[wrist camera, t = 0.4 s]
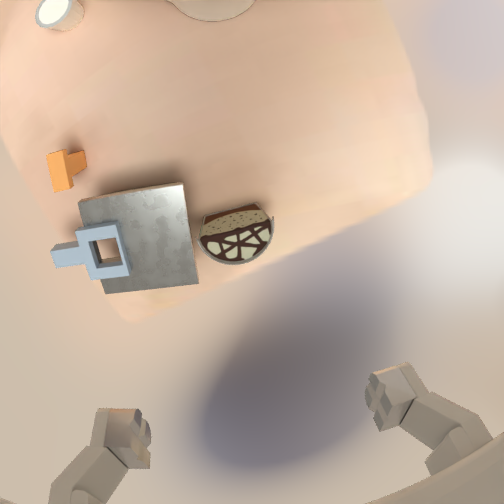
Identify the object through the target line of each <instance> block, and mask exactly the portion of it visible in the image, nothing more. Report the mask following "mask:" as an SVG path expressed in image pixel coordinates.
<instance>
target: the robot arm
mask: <svg viewBox="0 0 504 504" xmlns="http://www.w3.org/2000/svg"><path fill="white" fill-rule="evenodd" d="M166 1H169V2H171V3H173V4H174V5H175V6H176V7H177V8H178V9H179V10H180V11H181V12H182V13H184V14H186V15H187V16H189V17H192V18H194V19H198V20H202V21H222V20H227V19H230V18H233V17H236V16H238V15H240V14H241V13H243V12H244V11H246V10H247V9H248V8H249V7H250V6H251V5H252V4H253V3H254V1H255V0H166ZM369 381H370V383H369V384H368V386H366V389H365V400H366V403H367V406H368V408H369V409H370V410H372V411H373V412H375V414H374V417H373V419H374V421H375V423H376V425H377V427H378V429H379V431H380V432H381V431H384V430H387V429H390V428H393V427H396V426H399V425H400V427H401V428H402V429H404V430H405V431H407V432H408V433H410V434H411V435H413V436H414V437H415V438H416V439H418V440H419V441H421V442H422V443H424V444H425V445H427V446H428V447H429V448H431V449H432V450H434V451H433V452H432V453H431V454H430V455H429V457H427V459H426V461H425V464H426V466H427V468H428V470H429V472H430V474H431V476H430V477H428V478H426V479H424V480H422V481H420V482H418V483H415V484H413V485H411V486H409V487H407V488H404V489H402V490H400V491H398V492H395V493H392V494H390V495H387V496H385V497H382V498H380V499H377V500H374V501H371V502H369V503H366V504H504V432H503V433H501V434H500V435H499V436H497V437H496V438H494V439H493V438H492V436H491V435H490V433H489V432H488V430H487V428H486V427H485V425H484V423H483V422H482V420H481V419H480V417H479V415H477V414H475V413H473V412H471V411H469V410H467V409H465V408H463V407H461V406H459V405H457V404H455V403H453V402H451V401H449V400H447V399H446V398H443V397H442V396H440V395H438V394H436V393H433V392H430V393H429V392H428V390H427V389H426V387H425V385H424V384H423V382H422V381H421V379H420V378H419V376H418V375H417V373H416V372H415V370H414V368H413V367H412V365H411V364H410V363H409V362H405V363H402V364H399V365H396V366H392V367H389V368H386V369H383V370H380V371H376V372H373V373H371V374H370V377H369ZM150 444H151V431H150V427H149V424H148V422H147V421H146V420H145V419H143V418H142V413H141V411H140V410H139V409H113V408H99V409H98V410H97V412H96V416H95V422H94V427H93V431H92V437H91V442H90V446H86V447H85V448H84V449H83V450H82V451H81V452H80V453H79V454H78V456H77V457H76V458H75V459H74V460H73V461H72V462H71V463H70V464H69V465H68V466H67V467H66V469H65V470H64V471H63V472H62V473H61V474H60V475H59V476H58V477H57V478H56V479H55V480H54V482H53V483H52V484H51V490H50V496H49V503H48V504H106V503H107V501H108V500H109V498H110V497H111V495H112V494H113V492H114V491H115V489H116V488H117V486H118V485H119V483H120V482H121V480H122V479H123V477H124V476H125V474H126V473H127V471H128V469H150V452H149V451H148V450H147V447H148V446H149V445H150ZM0 504H15V503H13V502H10V501H8V500H5V499H2V498H0Z"/></svg>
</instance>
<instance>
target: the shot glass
mask: <svg viewBox="0 0 504 504" xmlns="http://www.w3.org/2000/svg"><path fill="white" fill-rule="evenodd" d="M83 15H84V9H83V7H82V6H81V5H80V3H79V2H78V1H77V0H42V1H41V3H40V4H39V6H38V8H37V10H36V15H35V19H36V23H37V24H38V25H39V26H40V27H44V28H49V29H55V30H60V31H69V30H71V29H73V28H75V27H76V26H77V25H78V24H79V23H80V22H81V20H82V18H83Z"/></svg>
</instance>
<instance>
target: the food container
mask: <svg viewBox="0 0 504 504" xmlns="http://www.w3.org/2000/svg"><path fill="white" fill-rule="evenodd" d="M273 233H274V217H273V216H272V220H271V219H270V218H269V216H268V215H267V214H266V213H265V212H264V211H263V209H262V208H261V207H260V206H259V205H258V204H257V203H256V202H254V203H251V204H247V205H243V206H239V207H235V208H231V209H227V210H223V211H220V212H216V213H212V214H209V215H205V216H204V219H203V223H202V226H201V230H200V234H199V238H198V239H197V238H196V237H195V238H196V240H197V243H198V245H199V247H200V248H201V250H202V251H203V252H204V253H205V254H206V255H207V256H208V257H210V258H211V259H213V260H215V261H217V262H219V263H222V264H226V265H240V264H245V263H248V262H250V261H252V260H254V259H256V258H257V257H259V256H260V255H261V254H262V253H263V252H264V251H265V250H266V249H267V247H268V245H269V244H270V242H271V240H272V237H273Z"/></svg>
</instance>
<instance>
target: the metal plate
mask: <svg viewBox="0 0 504 504" xmlns="http://www.w3.org/2000/svg"><path fill="white" fill-rule="evenodd" d="M78 206H79V210H80V214H81V218H82V221H83V225H84V226H90V225H96V224H102V223H108V222H114V221H118V222H119V226H120V230H121V234H122V238H123V242H124V246H125V249H126V253H127V257H128V260H129V264H130V267H131V273H130V276H123V277H114V278H106V279H100V280H101V283H102V285H103V288H104V291H105V294H111V293H121V292H130V291H139V290H148V289H157V288H166V287H175V286H183V285H191V284H199V277H198V271H197V266H196V260H195V254H194V248H193V242H192V236H191V230H190V224H189V218H188V211H187V205H186V198H185V191H184V184H183V182H180V183H177V182H175V183H168V184H162V185H155V186H149V187H143V188H137V189H131V190H125V191H120V192H114V193H110V194H107V195H102V196H96V197H91V198H86V199H81V200H80V201H79V202H78ZM92 242H93V246H94V249H95V252H96V255H97V259H98V262H99V264H102V263H109V262H117V261H122V259H121V257H114V258H107V259H101V255H100V252H99V249H98V245H97V242H96V240H95V241H92Z"/></svg>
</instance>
